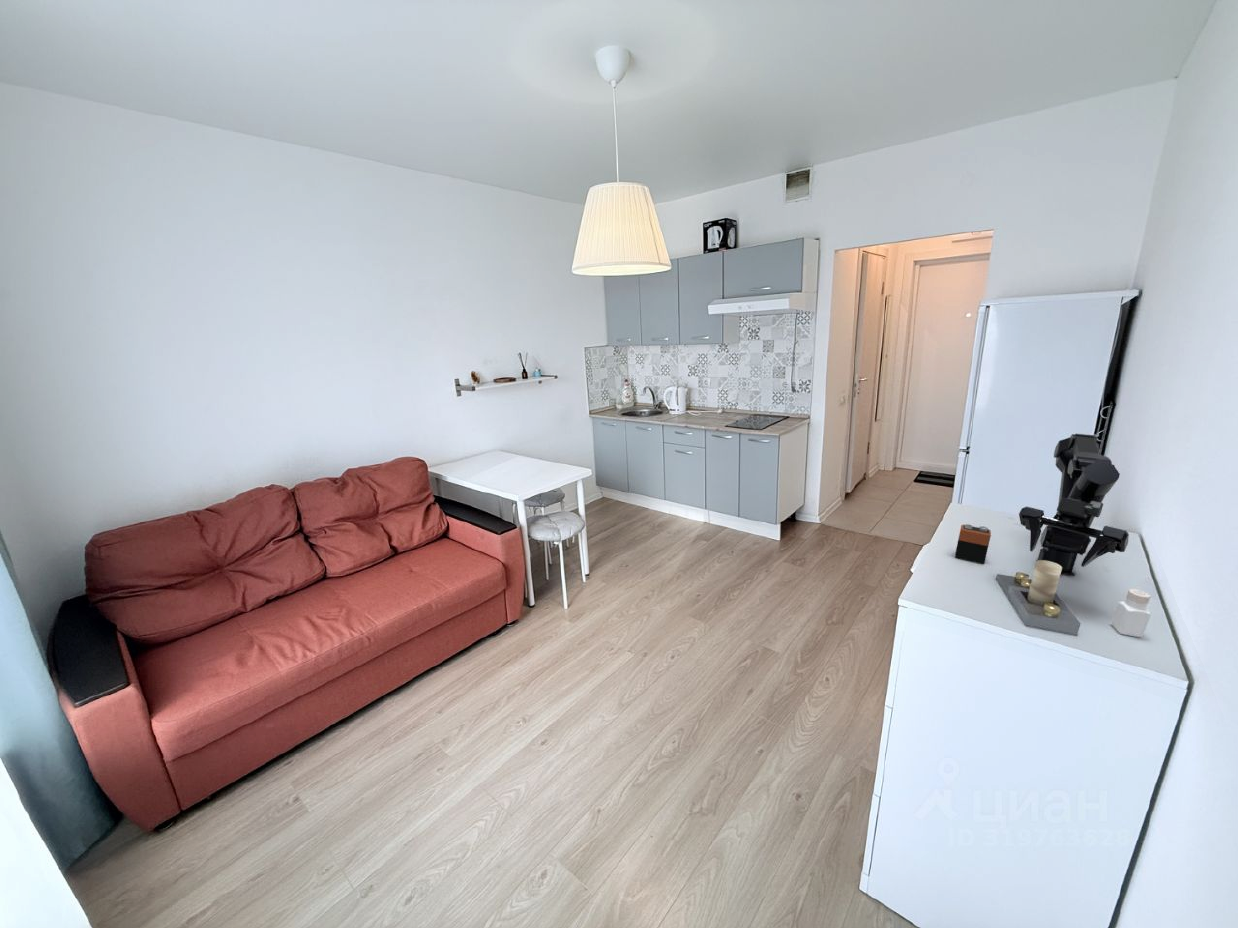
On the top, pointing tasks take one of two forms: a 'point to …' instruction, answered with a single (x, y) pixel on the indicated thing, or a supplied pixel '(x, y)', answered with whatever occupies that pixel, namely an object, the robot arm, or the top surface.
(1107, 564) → the top surface
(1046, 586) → the pin
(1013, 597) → the mounting plate
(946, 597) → the top surface
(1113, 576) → the top surface
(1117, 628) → the salt shaker
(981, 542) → the battery
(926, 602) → the top surface
